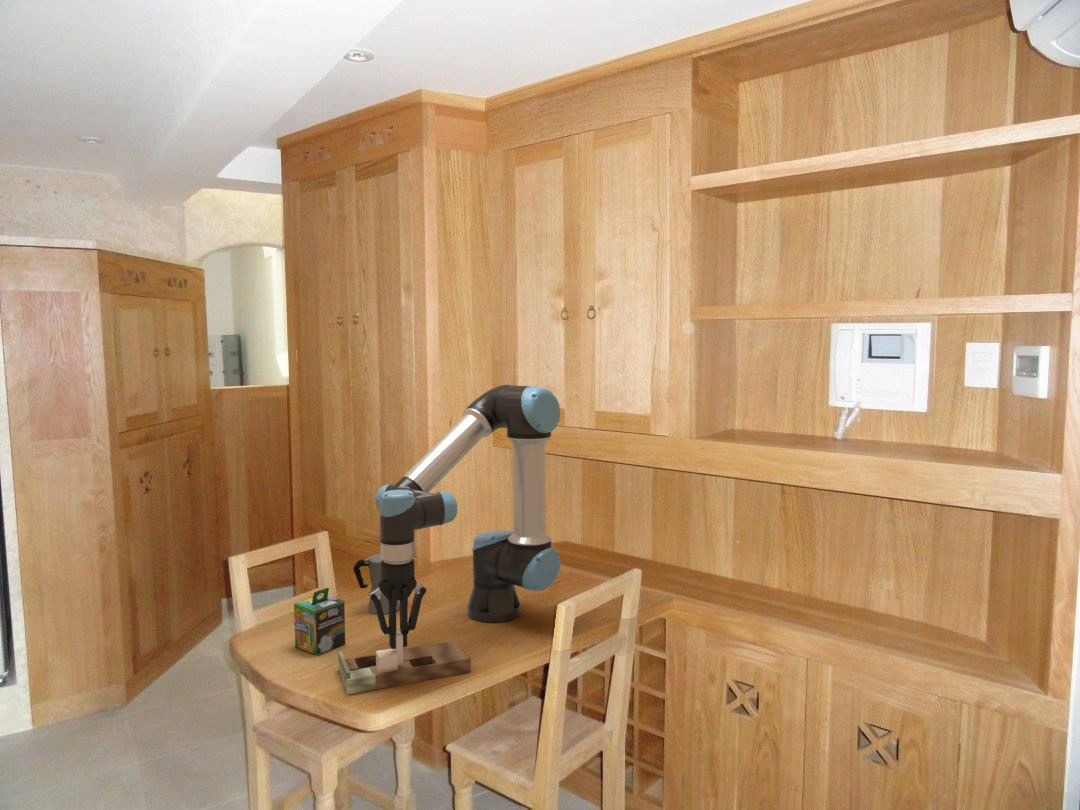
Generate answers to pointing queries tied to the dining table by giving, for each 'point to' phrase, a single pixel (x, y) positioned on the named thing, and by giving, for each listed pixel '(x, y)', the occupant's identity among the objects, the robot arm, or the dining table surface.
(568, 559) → the dining table surface
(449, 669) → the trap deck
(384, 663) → the ivory block
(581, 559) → the dining table surface
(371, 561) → the coffeepot
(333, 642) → the chalk box
